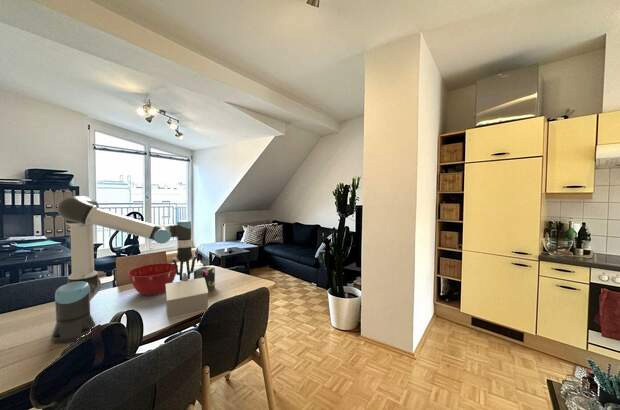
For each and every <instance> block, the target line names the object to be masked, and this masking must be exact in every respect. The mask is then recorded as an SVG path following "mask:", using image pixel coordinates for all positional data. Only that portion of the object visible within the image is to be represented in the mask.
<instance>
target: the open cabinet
mask: <svg viewBox="0 0 620 410" xmlns="http://www.w3.org/2000/svg"><path fill="white" fill-rule="evenodd" d="M208 299H209V292H208V293H205V294H200V295H195V296H190V297H185V298H180V299H175V300H169V301H167V296H166V295H165V300H166V303H165V305H166V309H165V311H166V315H167V320H172V319H175V318H181V317H185V316H189V315H193V314H198V313H201V312H205V310H206V309H207V308H208V309H209V304H208V303H209V302H208Z"/></svg>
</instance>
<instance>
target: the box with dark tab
mask: <svg viewBox="0 0 620 410" xmlns="http://www.w3.org/2000/svg"><path fill="white" fill-rule="evenodd" d="M182 274H183V275H184V281H180V280H179V281H175V282H174V281H173V283H167V284H165V285H166V291H165V297H166V296H167V301H169V300H175V299H180V298H185V297H190V296H195V295H200V294H205V293H208V294H209V292H208V289H207V285H206V281H205V278H198V279H194V278H193V279H188V280H187V276H186V274H187V272H182Z"/></svg>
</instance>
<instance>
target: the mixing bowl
mask: <svg viewBox="0 0 620 410" xmlns="http://www.w3.org/2000/svg"><path fill="white" fill-rule="evenodd" d="M177 267H178V268H179V265H178V264H177ZM127 276H128V277H129V280H130V282H131V284H132V286H133V287H134V289H135V290H136V292H138V294H140V295H143V296H145V297H146V296H147V297H149V296H158V295H160V294H163V293H166V285H165V284H167V283H174V280H175V277H176V276H177V274H176V270H175V265H174V263H171V262H170V263H169V262H165V263H164V262H163V263H153V264H152V263H151V264H146V265H141V266H138V267H134V268H132V269H130V270H129V271H128V273H127Z"/></svg>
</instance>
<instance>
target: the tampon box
mask: <svg viewBox="0 0 620 410" xmlns="http://www.w3.org/2000/svg"><path fill="white" fill-rule="evenodd" d="M198 278H205V281H206V285H207V289H208V293H210V292H211V291H212V290H214V289H215V288H216V287H215V286H216V285H215V284H216V282H215V281H216V268H215V267H210V266H203V267H199V268H198V269H195V270H194V271H193V279H198Z"/></svg>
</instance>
